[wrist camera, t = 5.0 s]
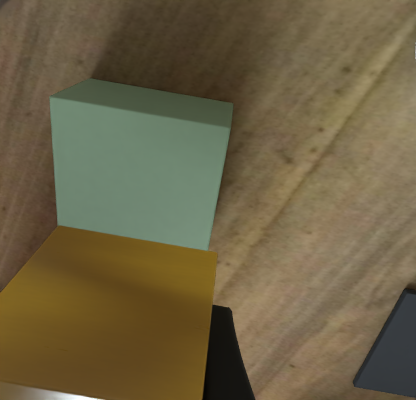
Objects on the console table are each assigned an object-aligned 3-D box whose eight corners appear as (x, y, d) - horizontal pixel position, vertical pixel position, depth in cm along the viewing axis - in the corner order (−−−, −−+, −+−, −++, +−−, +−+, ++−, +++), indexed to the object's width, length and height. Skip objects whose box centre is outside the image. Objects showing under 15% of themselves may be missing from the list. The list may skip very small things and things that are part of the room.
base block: (90, 204, 20) (58, 244, 17) (89, 77, 17) (48, 95, 13) (211, 225, 20) (204, 270, 17) (233, 102, 17) (231, 127, 13)
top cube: (65, 334, 12) (-22, 495, 8) (58, 224, 10) (-67, 367, 6) (197, 358, 12) (174, 530, 8) (218, 251, 10) (200, 416, 6)
